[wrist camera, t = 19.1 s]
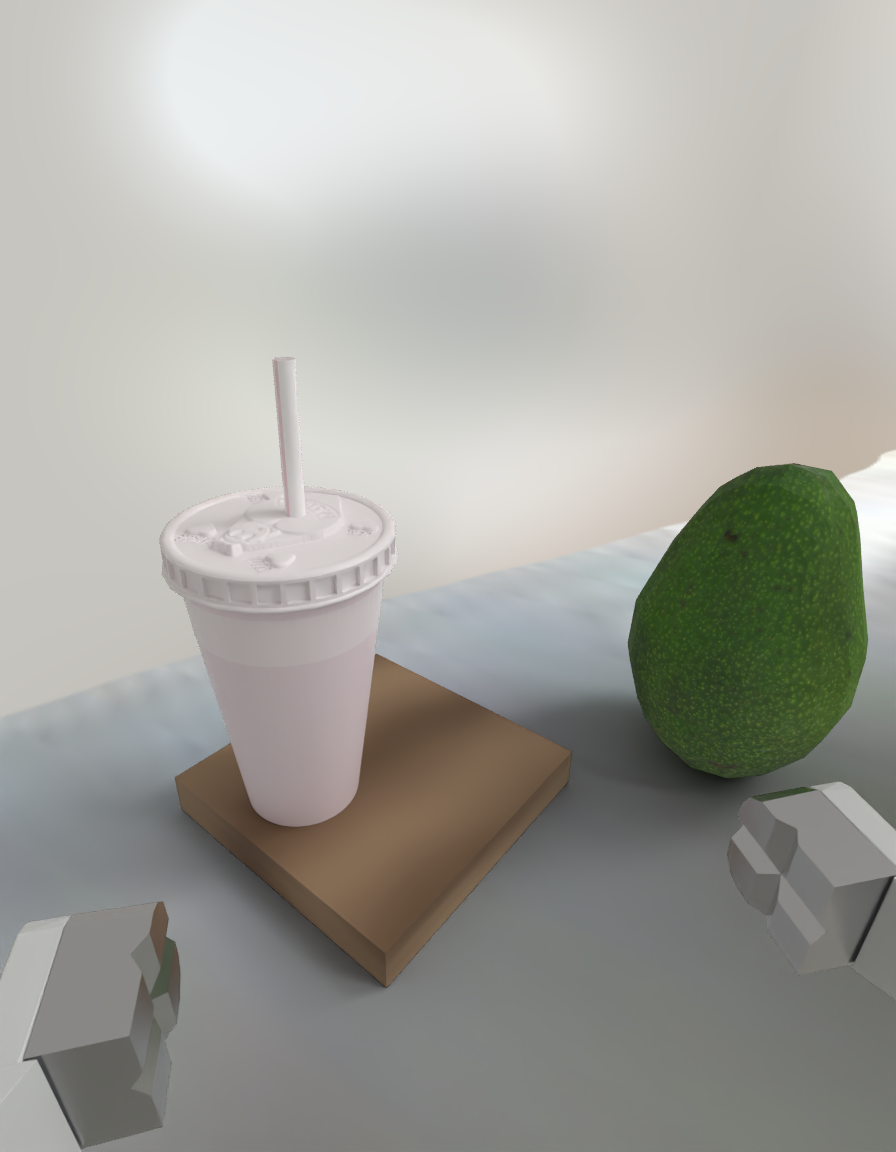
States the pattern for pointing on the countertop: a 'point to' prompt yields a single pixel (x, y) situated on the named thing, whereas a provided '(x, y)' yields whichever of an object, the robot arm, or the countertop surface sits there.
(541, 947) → the countertop surface
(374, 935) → the coaster board
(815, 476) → the avocado
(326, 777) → the smoothie
